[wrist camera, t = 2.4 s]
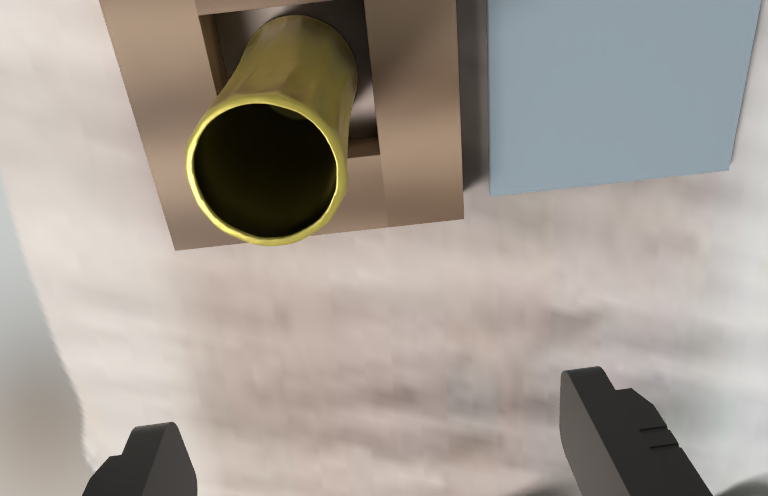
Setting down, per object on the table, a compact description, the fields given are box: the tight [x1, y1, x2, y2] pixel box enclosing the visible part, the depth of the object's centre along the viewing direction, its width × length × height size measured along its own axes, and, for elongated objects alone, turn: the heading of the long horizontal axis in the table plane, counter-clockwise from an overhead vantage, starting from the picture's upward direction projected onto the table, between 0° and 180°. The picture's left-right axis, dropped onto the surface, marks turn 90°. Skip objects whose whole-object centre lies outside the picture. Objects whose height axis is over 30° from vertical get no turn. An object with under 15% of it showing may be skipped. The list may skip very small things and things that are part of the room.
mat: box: [486, 0, 761, 197], centre depth 31 cm, size 16×14×1 cm
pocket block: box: [99, 0, 464, 251], centre depth 30 cm, size 16×16×3 cm
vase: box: [185, 15, 357, 246], centre depth 25 cm, size 6×6×14 cm
